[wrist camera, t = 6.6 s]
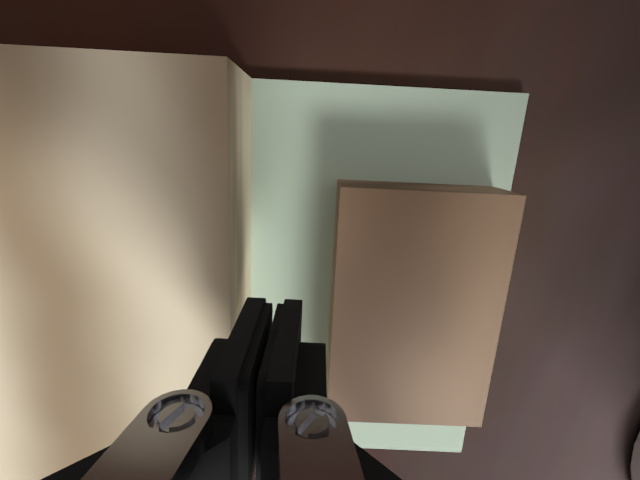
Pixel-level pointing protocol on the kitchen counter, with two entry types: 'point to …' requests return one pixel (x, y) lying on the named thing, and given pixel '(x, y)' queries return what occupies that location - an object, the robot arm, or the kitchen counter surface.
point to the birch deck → (114, 238)
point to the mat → (361, 164)
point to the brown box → (418, 299)
